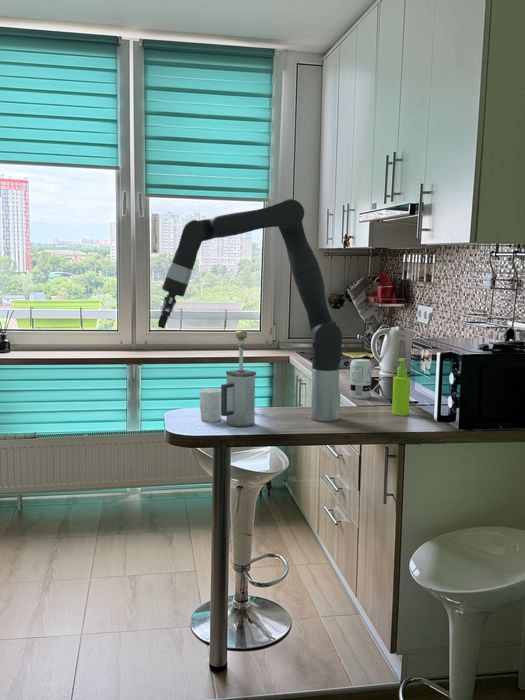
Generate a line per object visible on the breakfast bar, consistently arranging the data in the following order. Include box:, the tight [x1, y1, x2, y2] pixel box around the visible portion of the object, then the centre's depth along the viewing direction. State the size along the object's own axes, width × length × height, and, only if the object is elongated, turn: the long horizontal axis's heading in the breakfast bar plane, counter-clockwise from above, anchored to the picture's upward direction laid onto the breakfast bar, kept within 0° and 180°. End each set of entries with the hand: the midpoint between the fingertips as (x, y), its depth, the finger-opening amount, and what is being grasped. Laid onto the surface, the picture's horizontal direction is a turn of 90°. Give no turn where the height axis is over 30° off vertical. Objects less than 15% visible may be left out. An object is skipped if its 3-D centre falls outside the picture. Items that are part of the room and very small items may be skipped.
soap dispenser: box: [391, 357, 411, 417], centre depth 236 cm, size 6×7×20 cm
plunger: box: [235, 330, 248, 372], centre depth 216 cm, size 4×4×20 cm
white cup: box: [198, 387, 222, 422], centre depth 225 cm, size 8×8×10 cm
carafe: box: [220, 369, 257, 429], centre depth 217 cm, size 14×9×18 cm
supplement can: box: [349, 358, 373, 400], centre depth 266 cm, size 8×8×15 cm
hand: (160, 326), depth 219 cm, fingers open, 8 cm apart
